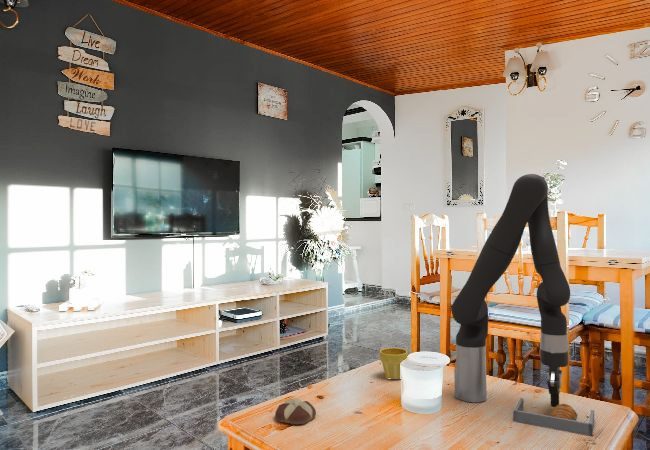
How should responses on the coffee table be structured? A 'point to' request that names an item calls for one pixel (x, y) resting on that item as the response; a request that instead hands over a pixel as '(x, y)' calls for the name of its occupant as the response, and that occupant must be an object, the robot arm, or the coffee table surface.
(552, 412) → the pastry
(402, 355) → the plant pot
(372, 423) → the coffee table surface
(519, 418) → the box
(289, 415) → the bread
